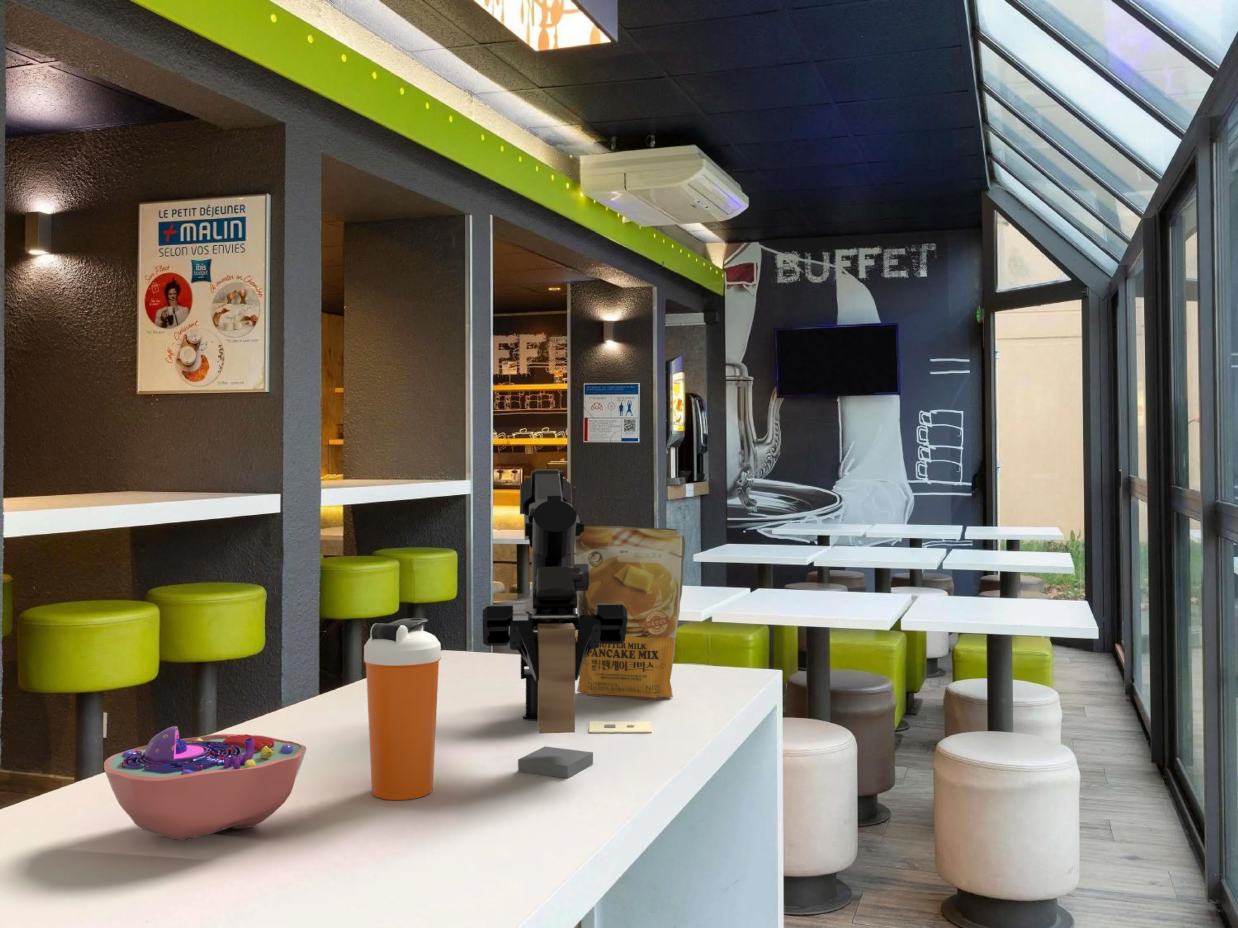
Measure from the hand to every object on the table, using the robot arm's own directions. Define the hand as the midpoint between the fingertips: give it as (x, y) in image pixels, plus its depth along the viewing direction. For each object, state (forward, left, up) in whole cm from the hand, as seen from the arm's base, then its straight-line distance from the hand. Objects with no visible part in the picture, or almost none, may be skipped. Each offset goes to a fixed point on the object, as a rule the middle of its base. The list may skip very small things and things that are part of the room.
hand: (556, 678), depth 139 cm
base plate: (0, +1, -11) cm, 12 cm away
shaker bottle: (-16, -12, -12) cm, 23 cm away
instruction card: (+4, +23, -11) cm, 26 cm away
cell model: (-31, -29, -12) cm, 44 cm away
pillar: (0, +1, -7) cm, 7 cm away
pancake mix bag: (+1, +46, -12) cm, 48 cm away
